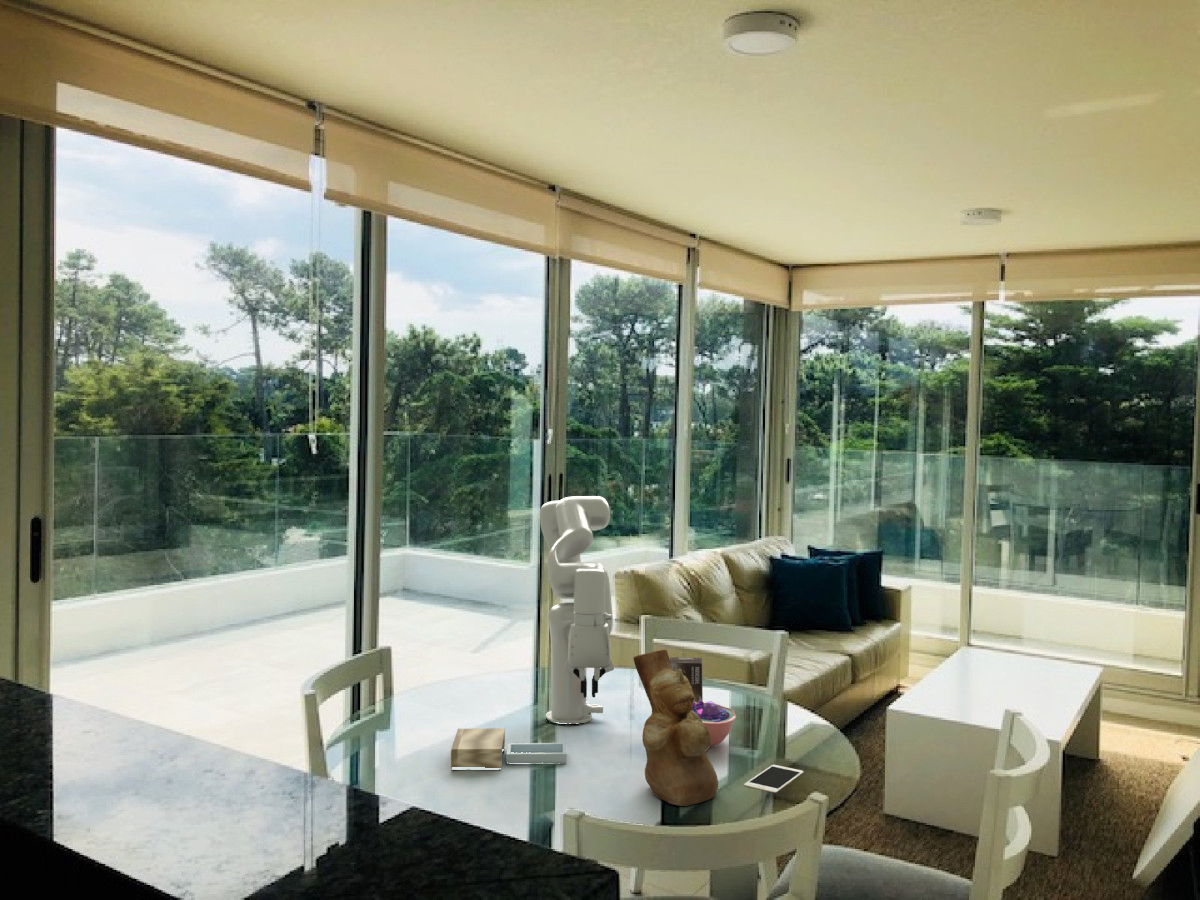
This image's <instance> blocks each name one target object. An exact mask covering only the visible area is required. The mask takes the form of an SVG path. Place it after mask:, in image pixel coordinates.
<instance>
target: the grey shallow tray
mask: <svg viewBox="0 0 1200 900" xmlns="http://www.w3.org/2000/svg"><path fill="white" fill-rule="evenodd" d="M511 752H514V753H511ZM516 752H517V753H516ZM521 752H523V753H521ZM526 752H527V753H526ZM529 752H531V753H529ZM534 752H545V753H534ZM505 754H506V758H505V759H506V762H508V763H542V762H543V763H560V764H559V765H567V743H566V742H527V743H525V742H515V743H514V742H513V743H512V742H511V743H510V742H509V743H508V744H507V749H506V753H505Z"/></svg>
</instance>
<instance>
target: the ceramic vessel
mask: <svg viewBox="0 0 1200 900" xmlns="http://www.w3.org/2000/svg"><path fill="white" fill-rule="evenodd" d="M632 659H633V662H634V666H635V669H636V672H637V674H638V676H639V677H638V678H639V679H640V681H641V684H642V686H643V689H644V691H645V694H646V698H647V699H648V701H649V704H650V707H651V714H650V716H649V717H647V719H646V721H645V722H644V724H643V725H644V726H643V730H642V735H641V736H642V737H641V738H642V743H643V744H642V745H643V747H644V748H645V752H646V763H645V768H644V779H645V781H646V783H647V784H648V786H649V788H650V789H651V791H652V794H653V795H654V797H657V798H658V799H660V800H662V801H665V802H666V803H668V804H671V805H674V806H675V805H676V806H681V807H682V806H683V807H686V806H691V805H695V804H699V803H702V802H707V801H709V800H710V799H713V798H714V797H715V796H716V794H717V791H718V789H719V779H718V774H717V772H716V770H715V768H714V766H713V765H712V763H711V760H710V759H709V757H708V755H707V753H706V752H707V750H708V749H710V747H709V746H710V734H709V731H708V729H707V727H706V726H705V725H704V724H703V722H702V720H701V719H700V717H699V716H698V715H697V713H695V712H694V711H692V710H691V709H692V707H693V701H694V694H693V691H692V687H691V685H690V683H689V681H688V679H687V678H686V677H685V676H684V675H683V672H682V670H681V669H678V670H677V672H675V671H674V670H673V668H672V665H671V663H670V655H669V653H668V650H667V649H666V648H664V649H659V650H654V651H649V652H646V653H642V654H638V655H635V656H634V657H632Z"/></svg>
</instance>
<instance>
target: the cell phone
mask: <svg viewBox="0 0 1200 900" xmlns="http://www.w3.org/2000/svg"><path fill="white" fill-rule="evenodd" d="M804 772H805V771H804V770H801V769H798V768H797V769H796V768H792V767H788V766H787V767H786V766H783V765H778V764H777V765H776V764H771V765H770V766H769V767H767V768H766V769H764V770H763V771H761V772H759V773H758V774H756V775H755V776H754V777H752V778H751V779H749V780H747V781H746V782H745V783H744V784H743V786H744V787H747V788H752V789H757V790H762V791H766V792H770V793H773V794H774V793H775V794H777V793H778V792H779V791H781V790H782V789H783V788H785V787H786V786H788V785H789V784H790V783H792V782H793V781H794V780H795V779H797V778H798V777H799V776H801V775H802V774H804Z"/></svg>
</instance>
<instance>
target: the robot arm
mask: <svg viewBox="0 0 1200 900" xmlns="http://www.w3.org/2000/svg"><path fill="white" fill-rule="evenodd" d="M610 520H611V508H610V506H609V502H608V501H607V500H606V498H604V497H603V496H600V495H597V496H595V495H591V496H590V495H587V496H582V495H581V496H578V495H577V496H575V495H574V496H567V497H563V498H562V499H560V500H551V501H548V502H546V503H545V502H544V504H542V506H541V507H540V510H539V523H540V528H541V532H542V536H543V538H544V541H545V543H546V545H547V548H548V556H547V563H546V564H547V572H548V579H549V583H550V584H549V585H550V587H551V590H552V593H553V596H555V597H556V598H557V599H561V600H573V602H561V603H557V604H555V605H553V606H552V607H551V608H550V609H549V611H548V614H547V616H548V617H547V619H548V627H549V635H550V648H551V651H550V652H551V657H550V658H551V669H550V670H551V671H550V673H551V676H550V677H551V684H550V686H551V693H550V695H551V697H550V700H551V701H550V704H551V705H550V709H551V710H550V711H547V712H546V714H545V719H546V718H547V719H548V720H551V721H555V722H559V723H567V724H569V723H571V724H576V723H584V724H587V723H589V722H591V720H592V719H593V714H604V706H603V705H599V704H590V703H588V699H587V695H588V694H587V689H588V683H587V681H588V680H587V669H590V668H593V669H594V672H593V675H592V678H591V697H592V698H596V694H598V693H599V681H600V679H601V678H602V676H604V675H605V674H607V673H610V672H612V671H614V669H615V666H614V664H613V662H612V656H611V655H612V652H611V636H610V634H611V633H612V631H613V627H614V619H613V617H614V615H613V605H612V594H611V585H610V577H609V574H608V573H609V572H608V571H607V569H606V567H605V566H604V564H602V563H600V562H581V554H582V553H584V552H586V551H587V550H588V549H590V548H591V547H592V545H593V542H594V534H593V531H599V530H602V529H605V528H606V527H607V526H608V525H609V523H610Z"/></svg>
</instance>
